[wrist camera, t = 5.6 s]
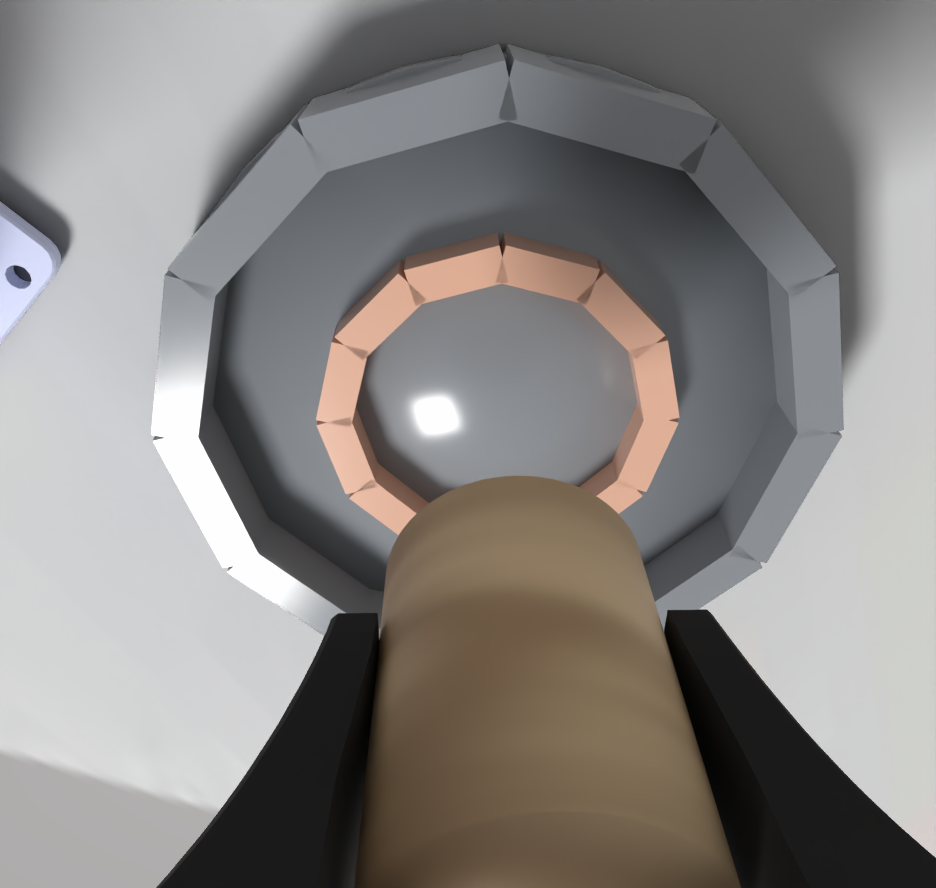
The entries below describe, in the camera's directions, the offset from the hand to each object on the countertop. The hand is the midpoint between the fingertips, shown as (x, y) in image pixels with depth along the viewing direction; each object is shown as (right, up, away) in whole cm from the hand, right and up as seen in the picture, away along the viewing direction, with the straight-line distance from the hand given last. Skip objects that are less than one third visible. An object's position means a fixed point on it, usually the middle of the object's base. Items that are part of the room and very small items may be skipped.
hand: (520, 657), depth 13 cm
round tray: (0, +5, +7) cm, 9 cm away
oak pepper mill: (0, +1, +1) cm, 2 cm away
